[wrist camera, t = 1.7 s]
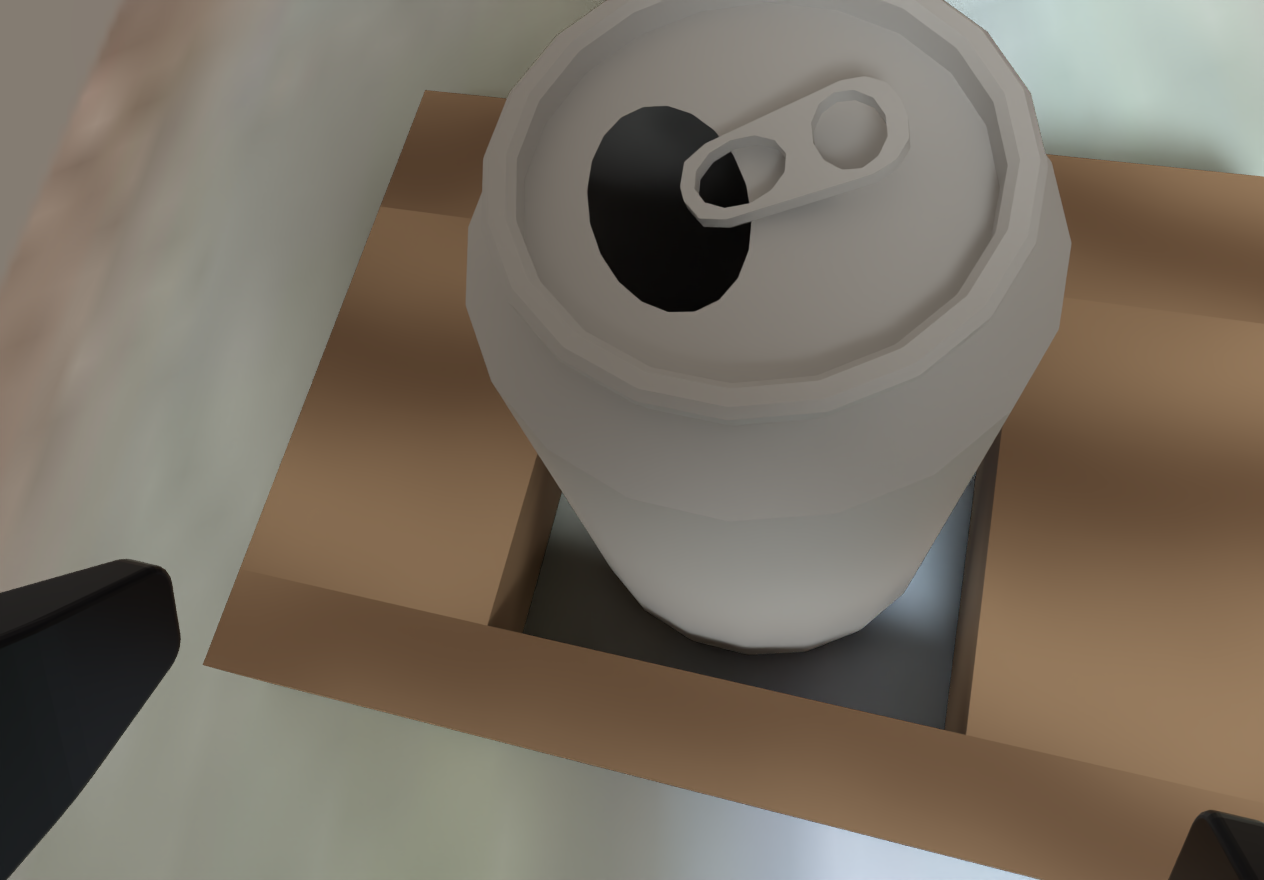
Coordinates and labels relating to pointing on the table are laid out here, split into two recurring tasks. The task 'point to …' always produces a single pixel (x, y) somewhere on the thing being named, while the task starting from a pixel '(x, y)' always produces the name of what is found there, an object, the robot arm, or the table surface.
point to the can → (766, 294)
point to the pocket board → (993, 574)
